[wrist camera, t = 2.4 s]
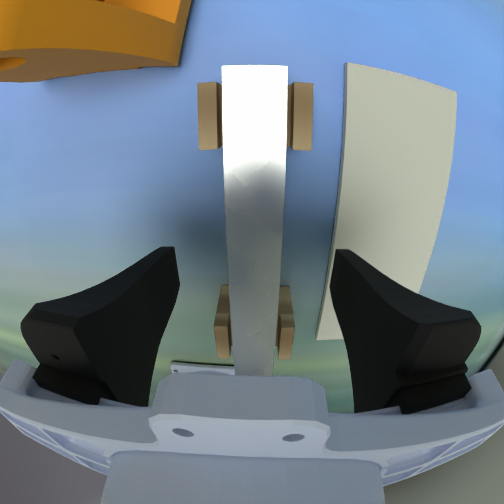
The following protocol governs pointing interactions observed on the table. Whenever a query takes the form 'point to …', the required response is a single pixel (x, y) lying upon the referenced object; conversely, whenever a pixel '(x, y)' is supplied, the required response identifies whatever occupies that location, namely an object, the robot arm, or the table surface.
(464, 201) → the table surface
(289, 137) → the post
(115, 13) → the bracket
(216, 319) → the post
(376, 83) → the mat
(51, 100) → the table surface
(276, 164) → the rail
